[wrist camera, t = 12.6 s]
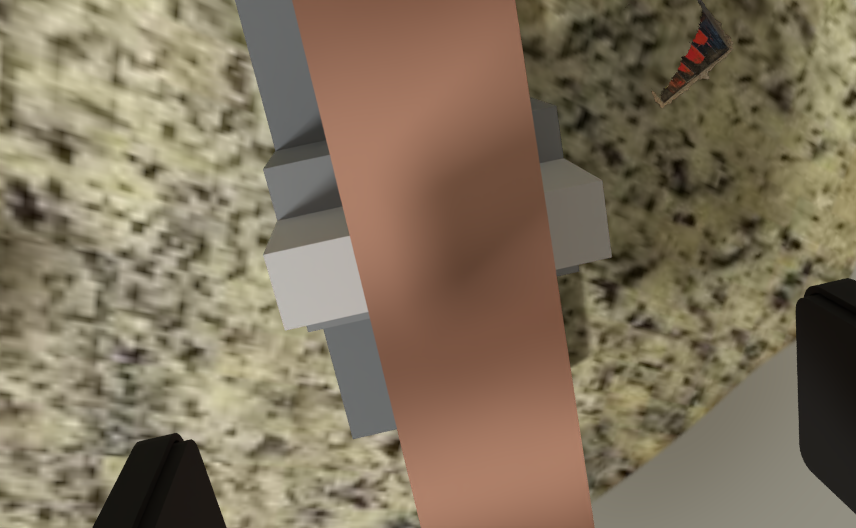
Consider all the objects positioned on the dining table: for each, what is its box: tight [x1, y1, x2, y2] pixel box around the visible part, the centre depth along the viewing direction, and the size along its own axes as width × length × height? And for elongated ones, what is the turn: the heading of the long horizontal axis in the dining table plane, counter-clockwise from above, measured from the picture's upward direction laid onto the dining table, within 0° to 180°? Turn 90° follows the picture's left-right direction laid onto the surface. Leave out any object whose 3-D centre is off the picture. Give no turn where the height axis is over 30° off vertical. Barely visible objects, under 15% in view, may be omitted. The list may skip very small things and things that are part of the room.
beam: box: [292, 0, 594, 528], centre depth 18 cm, size 22×4×6 cm, turn 11°
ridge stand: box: [235, 0, 612, 439], centre depth 25 cm, size 20×10×10 cm, turn 11°
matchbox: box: [627, 0, 733, 108], centre depth 29 cm, size 5×5×1 cm
